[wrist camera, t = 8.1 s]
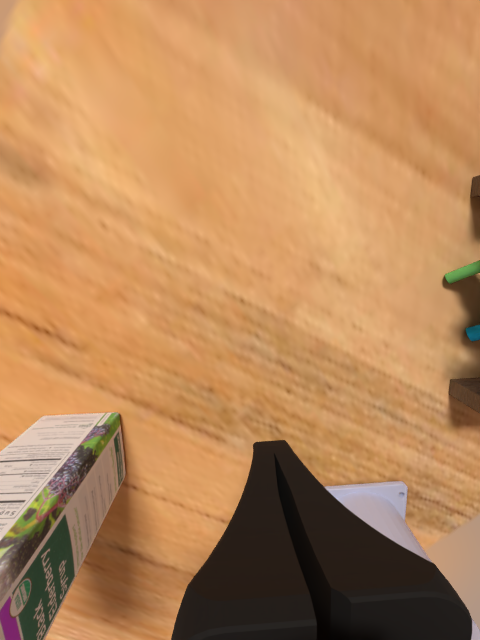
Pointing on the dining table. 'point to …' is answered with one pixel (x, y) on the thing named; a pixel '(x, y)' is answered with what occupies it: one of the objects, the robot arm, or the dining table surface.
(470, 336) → the gear
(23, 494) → the syrup box
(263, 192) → the dining table surface
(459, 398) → the frame
